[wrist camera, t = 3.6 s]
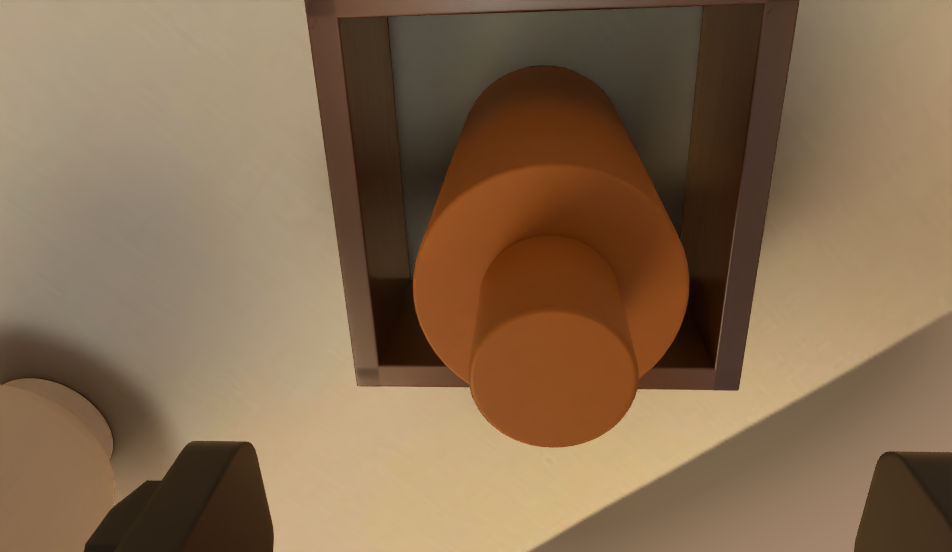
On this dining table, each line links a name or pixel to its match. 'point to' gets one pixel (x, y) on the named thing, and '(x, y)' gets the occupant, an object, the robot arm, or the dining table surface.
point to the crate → (706, 196)
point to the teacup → (51, 467)
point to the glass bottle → (549, 261)
